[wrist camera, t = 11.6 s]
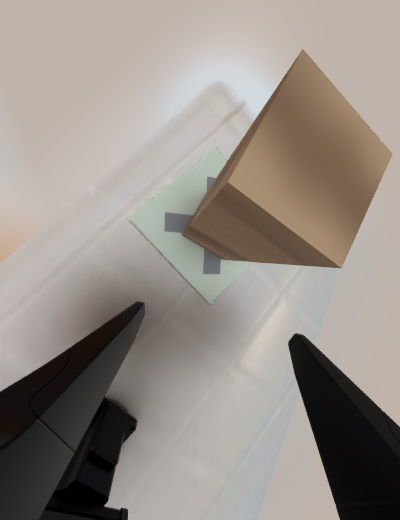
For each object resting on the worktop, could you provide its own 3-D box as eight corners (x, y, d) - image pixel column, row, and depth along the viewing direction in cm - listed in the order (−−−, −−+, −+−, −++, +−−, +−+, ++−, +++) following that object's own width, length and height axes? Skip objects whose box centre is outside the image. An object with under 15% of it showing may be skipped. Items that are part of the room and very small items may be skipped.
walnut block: (222, 259, 19) (341, 268, 6) (181, 235, 18) (227, 181, 5) (243, 220, 19) (392, 154, 7) (205, 193, 18) (302, 49, 5)
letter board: (208, 302, 20) (210, 304, 19) (129, 220, 17) (128, 218, 16) (275, 233, 22) (280, 232, 21) (214, 151, 19) (217, 146, 18)
